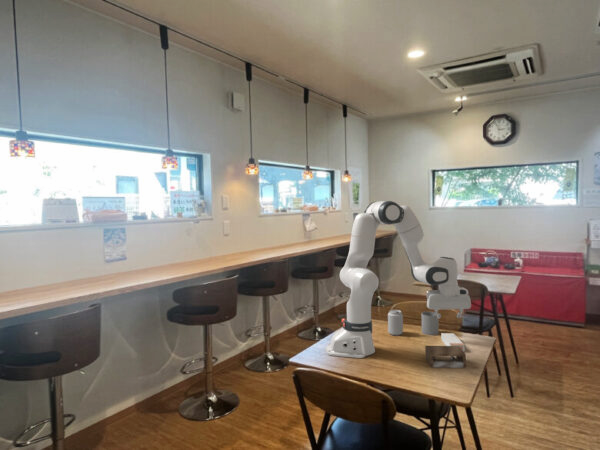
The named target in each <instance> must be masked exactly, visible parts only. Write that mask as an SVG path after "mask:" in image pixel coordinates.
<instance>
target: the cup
mask: <svg viewBox="0 0 600 450" xmlns="http://www.w3.org/2000/svg"><path fill="white" fill-rule="evenodd" d="M420 316H421V333H422V334H423V335H426V336H438V335H439V332H440V331H439V330H440V329H439V326H440V325H439V319H440V318H437V314H436V312H435V311H422V312H421V315H420Z"/></svg>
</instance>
